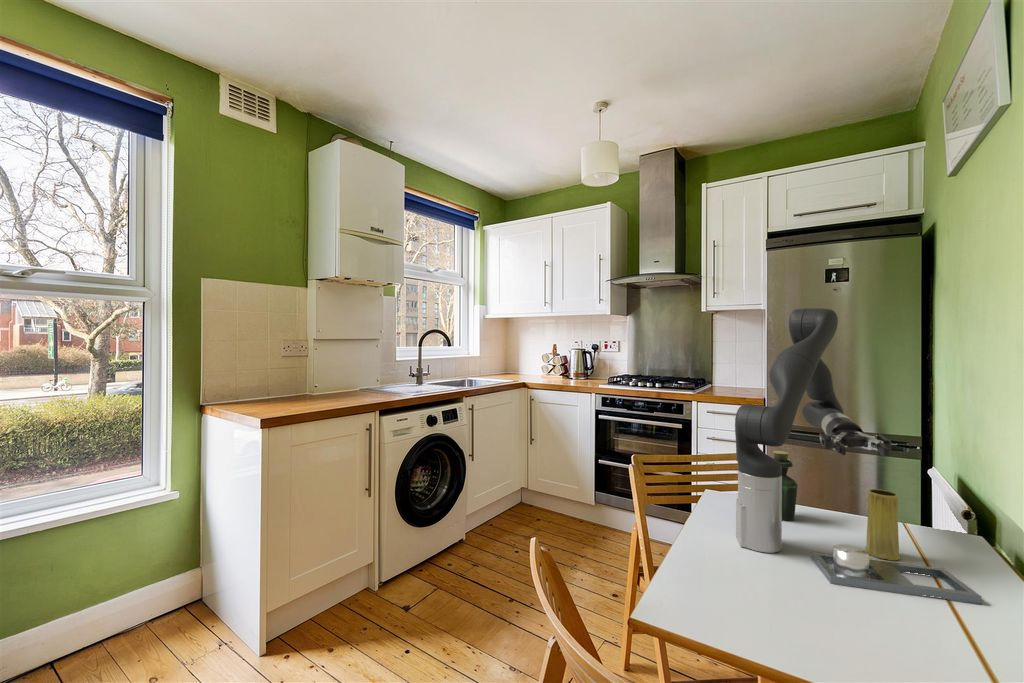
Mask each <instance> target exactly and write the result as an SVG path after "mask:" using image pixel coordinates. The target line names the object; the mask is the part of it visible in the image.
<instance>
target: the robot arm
mask: <svg viewBox="0 0 1024 683" xmlns="http://www.w3.org/2000/svg"><path fill="white" fill-rule="evenodd" d="M838 318H839V317H838V315H837V313H836V312H835V310H833V309H830V308H826V307H825V308H823V307H822V308H820V307H819V308H817V307H816V308H814V307H813V308H796V309H793V310H792V311H791V313H790V315H789V318H788V330H789V335H790V339H791V341H792V345H791V346H788V347H786V348H785V349H783V350H782V351H781V352H780V353H779V354H778V355H777V357H776V358H775V361H774V362H773V364H772V366H771V368H770V370H769V381H770V383H771V386H772V388H773V390H774V391H775V393H776V395H777V398H778V401H777V403H776V404H775V405H774V406H768V405H767V406H766V405H758V404H742V405H741V406H739V408H737V411H736V413H735V417H734V420H735V421H734V431H735V432H734V433H735V450H736V451H735V453H736V454H735V455H736V462H737V498H736V499H735V538H736V541H737V542H738V544H739V546H740V547H742V548H747V549H749V550H753V551H756V552H761V553H769V554H770V553H771V554H773V553H778V552H780V551H782V550H783V549H782V547H783V546H782V542H783V539H782V538H783V535H782V534H783V533H782V532H783V530H782V528H783V527H782V526H783V524H782V522H783V521H782V466H781V464H780V463H779V462H778V461H777V460H775V459H773V458H774V457H772V456H770V455H768V454H766V453H765V452H764V451H763V450H762V449H761V448H760V447H759V445H761V446H769V447H782V446H783V445H784V444H785V443H786V441H788V438H789V436H790V433H791V432H792V428H793V425H794V422H795V418H796V415H797V413H798V410H799V407H800V403H801V401H802V399H803V398H804V397H803V396H805V395H804V394H806V395H807V397H808V399H811V400H813V401H809V402H807V403H805V404H804V405H803V406H802V408H801V414H802V416H803V418H804V420H805V421H806V422H807V423H808V424H809V425H811V426H813V427H815V428H817V429H821V430H823V432H819V443H820V444H821V446H822V447H823V448H824V449H825V450H830V449H832V450H833V451H836V453H837V454H840V455H842V456H846V454H847V453H846V452H847V449H853V448H861V449H864V450H868V451H873V450H874V451H877V452H878V453H879V455H881V456H882V457H888V456H889V455H890V452H891V451H892V440H891V439H889V438H887V437H886V436H884V435H883V434H881V433H878V432H877V433H875V435H869V434H867V433H864V431H863V429H862V428H861V426H860V425H859V424H857V423H856V422H855V421H854V420H852V418H850V417H848V416H847V415H846V414H845V413H844V409H843V407H842V405H841V403H840V402H839V400H838V398H837V396H836V394H835V391H834V383H833V382H834V381H833V376H832V372H831V371H830V368H829V366H828V365H827V364H826V363H825V362H824V361H823V359H821V357H822V356H823V354H824V352H825V350H826V349H827V348H828V346H829V345H830V343H831V342H832V340H833V339H834V337H835V334H836V331H837V330H838V325H839V321H838V320H839V319H838ZM805 392H806V393H805ZM875 445H876V446H875Z"/></svg>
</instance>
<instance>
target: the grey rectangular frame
mask: <svg viewBox="0 0 1024 683" xmlns="http://www.w3.org/2000/svg"><path fill="white" fill-rule="evenodd" d="M832 553H833V554H830V553H823V552H822V553H820V552H813V551H812V552H811V553H810V554H811V560H812V561H813V563H814V564H815V566H816V567H817V568H818V570H820V572H821V573H822V575H824V577H825V578H826V580H827V581H828V582H829V583H830V584H832V585H837V586H838V585H839V586H846V587H852V588H861V589H867V590H874V591H881V590H882V592H888V591H889V593H895V592H899V593H898V594H902V593H908V594H907V595H909V594H916V595H915V596H917V595H926V596H934V597H941V598H944V599H943V600H945V599H947V601H953V602H961V603H966V604H967V603H968V604H975V605H976V604H977V605H982V596H981V595H980V594H979V593H978V592H976V591H975V590H973V589H972V588H971V587H970V586H968V585H967V584H966V583H964V582H963V581H961V580H960V579H958V578H957V577H956V576H954V575H953V574H952V573H951V572H949V571H948V570H946V569H945V568H944V567H943V568H942V567H936V566H927V565H920V564H913V563H912V564H911V563H903V562H902V563H901V562H895V561H894V562H893V561H888V560H879V559H872V558H871V559H870V554H869V553H868V552H867V551H866V549H863V548H861V547H858V546H854V545H851V544H845V543H843V544H841V543H837V544H836V543H835V544H834V545H833V548H832ZM828 564H832V566H833V567H832V568H833V569H832V568H831V567H830V565H828ZM900 572H910V573H918V574H925V575H930V576H929V577H931V576H933V577H932V578H940V579H941V580H942V581H944V582H945V583H946V584H948V585H949V587H951V588H952V589H950V588H943V587H936V586H928V585H921V584H914V583H912V582H911V581H910V580H909V579H908V578H907V577H906V576H904V574H903V573H900ZM870 574H871V575H872V577H873V578H870Z"/></svg>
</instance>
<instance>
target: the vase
mask: <svg viewBox="0 0 1024 683" xmlns="http://www.w3.org/2000/svg"><path fill="white" fill-rule="evenodd" d="M867 495H868V496H867V499H868V500H867V503H868V504H867V524H866V547H865V551H867V552H868V553H869V555H870V554H871V556H872V555H873V556H872V557H874V556H876V557H875V558H877V557H879V558H878V559H880V558H883V559H882V560H884V559H888V560H887V561H891V560H896V561H899V560H900V559H901V555H900V542H899V518H898V517H899V515H898V514H899V505H898V504H899V502H898V498H899V497H898V494H897V493H896V492H893V491H890V490H886V489H880V488H869V489H868V494H867ZM898 559H899V560H898Z"/></svg>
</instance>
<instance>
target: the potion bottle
mask: <svg viewBox="0 0 1024 683" xmlns="http://www.w3.org/2000/svg"><path fill="white" fill-rule="evenodd" d="M772 454H773V457H772V458H773V459H775V460H777V461H778V462H779V463H780V464H781V466H782V520H784V521H783V522H790V520H791V521H793V520H794V519H795V515H796V505H797V497H798V495H797V494H798V484H797V481H796V480H795V479H793V478H792V477H790V476H789V475H787V474H788V472H789V471H788V470H789V468H792V467H793V466H794V465H793V462H792V461H791V460H789V459H788V458H789V457H788V456H789V452H787V451H783V450H773V451H772Z"/></svg>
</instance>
